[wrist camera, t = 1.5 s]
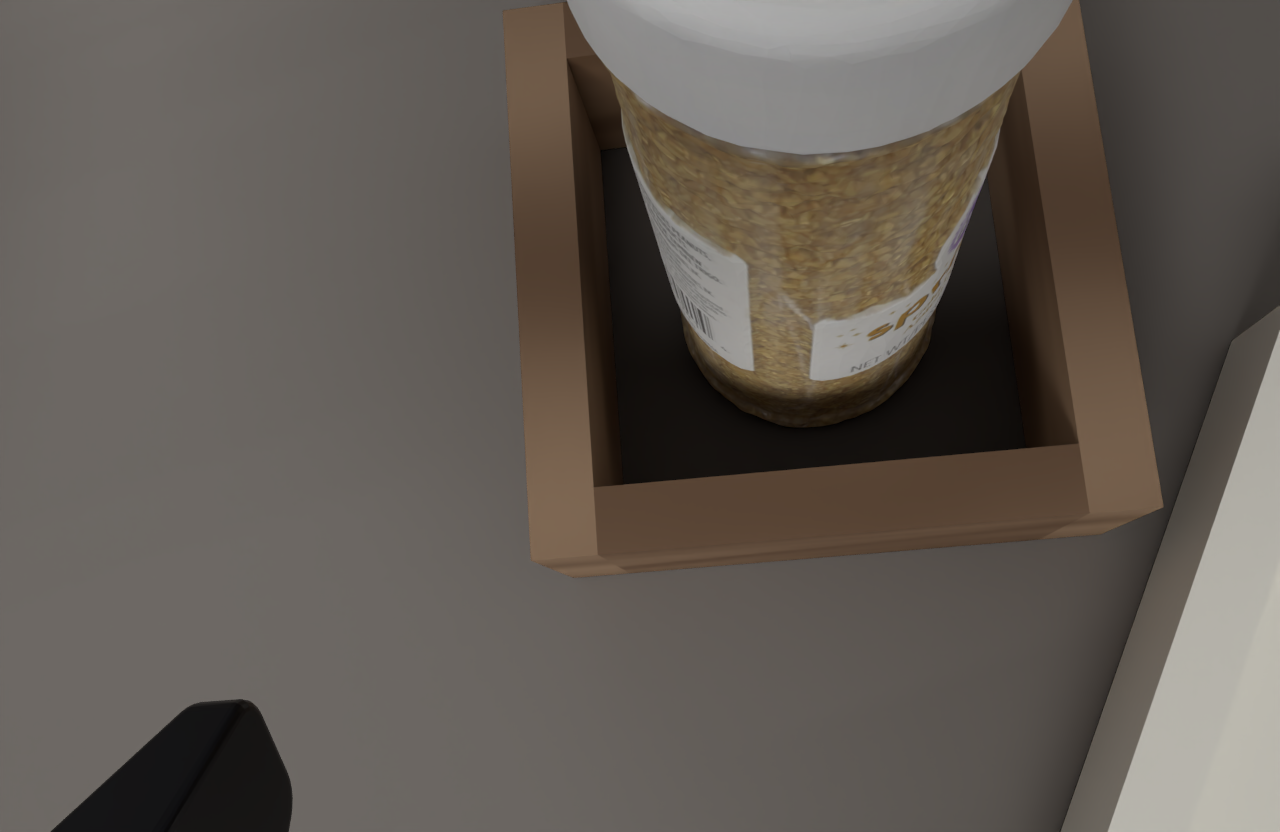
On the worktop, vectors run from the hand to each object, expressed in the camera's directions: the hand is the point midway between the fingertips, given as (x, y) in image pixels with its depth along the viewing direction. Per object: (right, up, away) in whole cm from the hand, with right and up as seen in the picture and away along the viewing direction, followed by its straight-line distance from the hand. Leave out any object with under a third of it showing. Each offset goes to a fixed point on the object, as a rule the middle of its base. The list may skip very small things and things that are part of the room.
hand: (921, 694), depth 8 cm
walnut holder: (+1, +4, +14) cm, 14 cm away
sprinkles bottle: (+1, +4, +14) cm, 14 cm away
